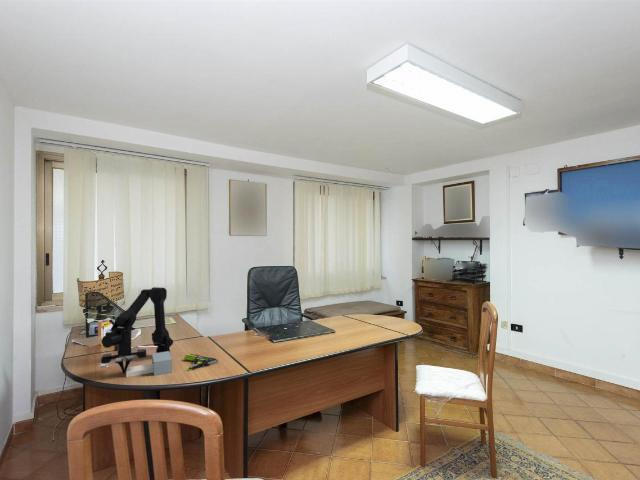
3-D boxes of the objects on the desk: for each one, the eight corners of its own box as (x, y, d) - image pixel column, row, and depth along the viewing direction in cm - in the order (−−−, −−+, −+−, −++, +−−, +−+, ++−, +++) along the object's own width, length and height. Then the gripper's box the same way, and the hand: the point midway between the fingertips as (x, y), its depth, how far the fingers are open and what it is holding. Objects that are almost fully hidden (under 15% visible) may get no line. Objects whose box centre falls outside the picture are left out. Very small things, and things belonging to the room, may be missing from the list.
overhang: (168, 363, 177) (168, 351, 177) (171, 372, 165) (171, 359, 165) (152, 366, 173) (152, 353, 173) (153, 375, 161) (154, 362, 161)
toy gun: (169, 362, 170) (188, 351, 184) (169, 370, 170) (188, 358, 185) (202, 368, 165) (219, 356, 179) (202, 377, 165) (219, 364, 179)
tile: (157, 367, 172) (157, 362, 172) (158, 372, 166) (158, 367, 166) (126, 372, 165) (126, 367, 165) (126, 377, 159) (126, 372, 159)
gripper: (145, 334, 172) (145, 364, 172) (102, 339, 163) (102, 371, 163) (146, 340, 163) (146, 372, 163) (101, 346, 153) (100, 379, 153)
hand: (124, 373), depth 161 cm, fingers closed
